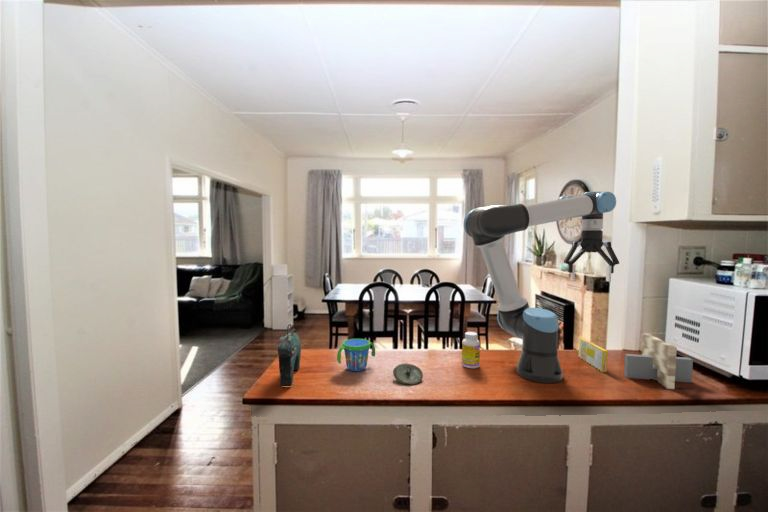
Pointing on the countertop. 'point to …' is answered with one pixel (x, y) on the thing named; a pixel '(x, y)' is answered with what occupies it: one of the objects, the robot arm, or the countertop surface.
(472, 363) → the supplement bottle
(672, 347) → the beige brown notched block
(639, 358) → the grey notched base plate
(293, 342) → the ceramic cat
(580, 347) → the candy box
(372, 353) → the snack cup
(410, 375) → the lid
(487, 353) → the countertop surface
